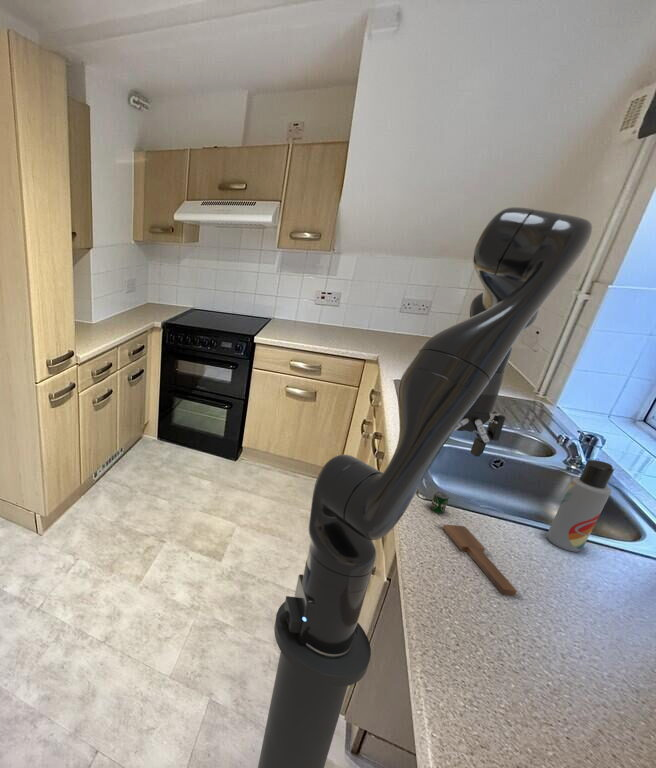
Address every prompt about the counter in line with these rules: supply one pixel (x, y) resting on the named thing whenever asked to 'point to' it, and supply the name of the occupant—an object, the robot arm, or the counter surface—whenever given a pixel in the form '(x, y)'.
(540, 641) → the counter surface
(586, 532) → the lotion bottle
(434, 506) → the beer can
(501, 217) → the robot arm
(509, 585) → the spatula
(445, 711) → the counter surface
